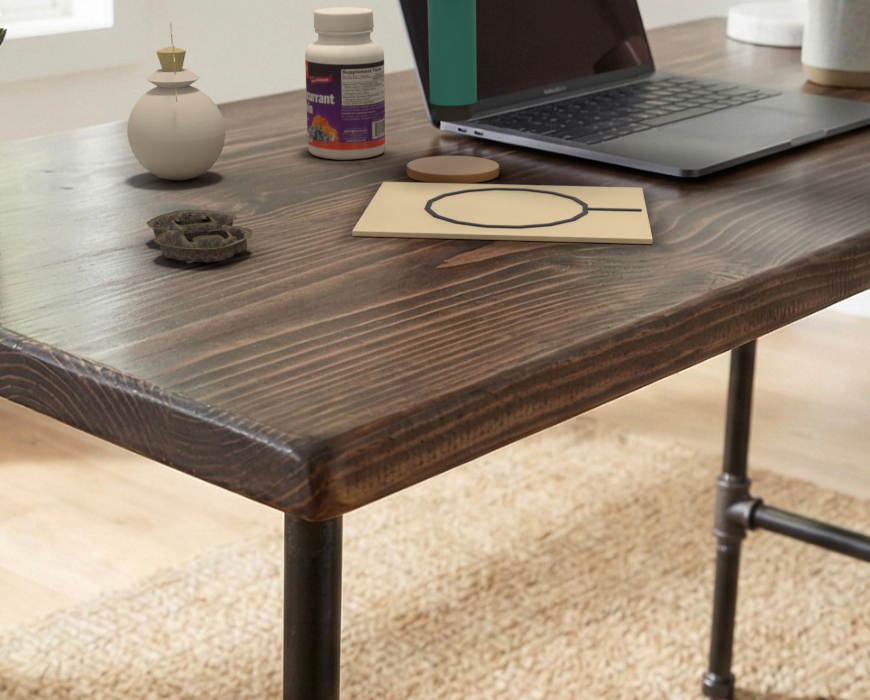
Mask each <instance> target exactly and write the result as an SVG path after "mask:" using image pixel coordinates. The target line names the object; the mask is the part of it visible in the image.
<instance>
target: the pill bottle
mask: <svg viewBox="0 0 870 700" xmlns="http://www.w3.org/2000/svg"><path fill="white" fill-rule="evenodd" d="M374 25H375V23H374V12H373V10H372V9H371V8H365V7H348V6H344V7H341V6H340V7H324V8H318V9H314V11H313V29H314V33H316V34H317V40H316V41H314V42H312V43H310V44H309V45H308V46H307V48H306V50H305V52H304V53H305V54H304V67H305V69H304V70H305V90H306V91H305V96H306V130H307V132H306V134H307V147H308V151H309V153H310V154H311V155H312V156H315V157H318V158H321V159H329V160H336V161H337V160H339V161H350V160H351V161H352V160H363V159H370V158H374V157H377V156H379V155H382V154H383V153H384V151H385V148H386V116H385V115H386V102H385V101H386V100H385V93H386V91H385V90H386V89H385V85H386V83H385V52H384V49H383V47H382V46H381V44H379V43H378V42H376V41H374V40H372V38H371V34H372V32H374V27H375V26H374Z"/></svg>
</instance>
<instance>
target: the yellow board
mask: <svg viewBox="0 0 870 700" xmlns="http://www.w3.org/2000/svg"><path fill="white" fill-rule="evenodd" d="M648 215H649V213H648V209H647V206H646V200H645V195H644V190H643V187H632V186H631V187H628V186H627V187H626V186H624V187H623V186H590V185H589V186H588V185H587V186H586V185H585V186H584V185H580V186H579V185H546V184H545V185H540V184H539V185H538V184H537V185H536V184H500V183H499V184H497V183H495V184H494V183H469V184H459V183H429V182H413V181H409V182H408V181H407V182H406V181H383V182H382V183H381V184H380V187H379V188H378V190H377V191H376V193H375V194H374V195H373V198H372V199H371V201H370V202H369V204H368V205H367V207H366V209H365V210H364V211H363V213H362V215H361V216H360V218H359V220H358V221H357V223H356V224H355V226H354V227H353V229H352V231H351V235H352V237H378V238H408V239H411V238H412V239H444V240H445V239H449V240H450V239H452V240H485V241H519V242H521V241H522V242H557V243H559V242H560V243H590V244H591V243H593V244H595V243H597V244H630V245H631V244H632V245H653V241H654V240H653V233H652V229H651V223H650V220H649V216H648Z"/></svg>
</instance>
